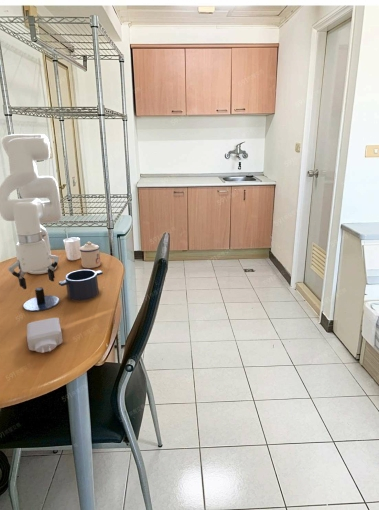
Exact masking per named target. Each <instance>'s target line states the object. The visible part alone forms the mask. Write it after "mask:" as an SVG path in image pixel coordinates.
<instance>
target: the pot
mask: <svg viewBox="0 0 379 510" xmlns="http://www.w3.org/2000/svg"><path fill="white" fill-rule="evenodd" d="M103 274H104V273H103V271H102V270H99V269H98V270H93V269H77V270H75V271H71V272H69V273H67V274H66V275H65V276H64V277H65V278H64V280H61V281H58V285H59V286H60V287H64V286H66V292H67V298H68V299H70V300H71V301H74V302H75V301H77V302H79V301H80V302H81V301H88V300H91V299H94V298H96V297H98V295H99V293H100V292H99V283H98V276H102V275H103Z"/></svg>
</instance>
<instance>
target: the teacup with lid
mask: <svg viewBox="0 0 379 510" xmlns="http://www.w3.org/2000/svg"><path fill="white" fill-rule="evenodd" d="M80 253H81V258H80V260H81V267H82V268H84V269H95V268H98V267H100V266H101V263H102V262H101V254H100V246H99V245H98V244H94V243H92V242H91V241H87V242H86V243H85V244H84V245H82V246H81V247H80Z"/></svg>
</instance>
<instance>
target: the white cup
mask: <svg viewBox="0 0 379 510" xmlns="http://www.w3.org/2000/svg"><path fill="white" fill-rule="evenodd" d="M63 245H64V251H65V254H66V259H67V260H68V261H77V260H81V253H80V247H82V246H81V238H80V237H76V236H71V237H66V238H64V239H63Z"/></svg>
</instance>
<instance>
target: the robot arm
mask: <svg viewBox="0 0 379 510" xmlns="http://www.w3.org/2000/svg"><path fill="white" fill-rule="evenodd" d="M1 143H2V148H3V150H4V151H5V154H6V155H7V157H8V164H9V165H8V166H9V175H7V176H6V178H5V179H4V180H3V181H2V183H1V184H0V216H1V218H2V219H3V220H4V221H5V222H14V223H15V229H16V230H15V231H16V234H17V240H18V242H17V243H16V245H15V252H16V253H15V254H16V261H15V262H14V263H12V264H11V265H10V266H8V267H7V270H8V271H9V272H10V273H11V274H12V275H13V276H14V277H16V278H17V279H18V283H19V287H20V288H22V289H23V290H26V289H27V282H26V278H25V277H24V276H25V275H26V273H29V274H31V275H43V274H47V276H48V280H49V281H50V282H55V278H56V277H55V270H56V269H57V268H58V267H57V266H58V263H59V261H60V257H59V255H55V254H52V250H51V244H50V239H49V232H48V231H47V229H46V228H45V227H44V226H43V225H42V224H47V223H56V222H60V221H61V220H62V217H63V214H62V213H63V211H62V205H61V197H60V191H59V186H58V182H57V180H56V178H55V177H54V176H52V175H51V176H50V175H41V176H39V174H38V168H37V164H36V162H35V161H47V160H49V159H50V157H51V147H50V141H49V138H48V137H47V135H46V134H43V133H30V134H27V133H26V134H25V133H20V134H19V133H17V134H16V133H14V134H8V135H4V136H3V137H2V138H1ZM17 189H18V193H19V196H20V197H21V198H12V199H9V197H10V195H11V193H13V192H14V191H15V190H17ZM41 199H47V200H45V201H44V200H43V201H42V200H41ZM16 268H18V272H17V271H15V269H16Z"/></svg>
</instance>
